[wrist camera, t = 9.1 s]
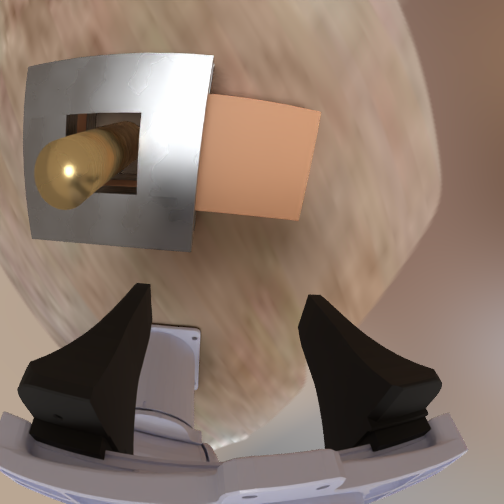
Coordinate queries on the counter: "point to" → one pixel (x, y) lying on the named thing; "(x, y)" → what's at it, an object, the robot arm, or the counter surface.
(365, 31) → the counter surface
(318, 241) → the counter surface
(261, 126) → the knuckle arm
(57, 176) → the brass pin
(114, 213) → the bracket
